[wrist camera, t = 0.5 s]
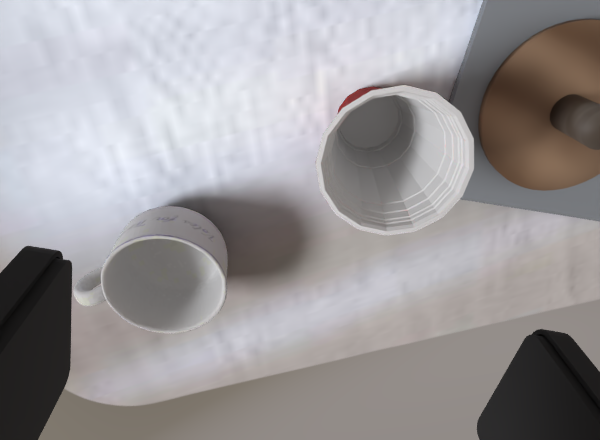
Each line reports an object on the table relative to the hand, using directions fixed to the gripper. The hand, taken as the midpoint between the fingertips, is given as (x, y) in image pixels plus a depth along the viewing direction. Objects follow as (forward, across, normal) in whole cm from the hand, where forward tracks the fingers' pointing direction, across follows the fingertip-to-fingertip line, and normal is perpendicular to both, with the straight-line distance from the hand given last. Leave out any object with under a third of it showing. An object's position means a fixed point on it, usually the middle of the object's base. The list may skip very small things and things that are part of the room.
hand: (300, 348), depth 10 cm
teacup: (+35, +8, +20) cm, 41 cm away
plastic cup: (+35, -8, +3) cm, 36 cm away
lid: (+34, -25, -2) cm, 42 cm away
